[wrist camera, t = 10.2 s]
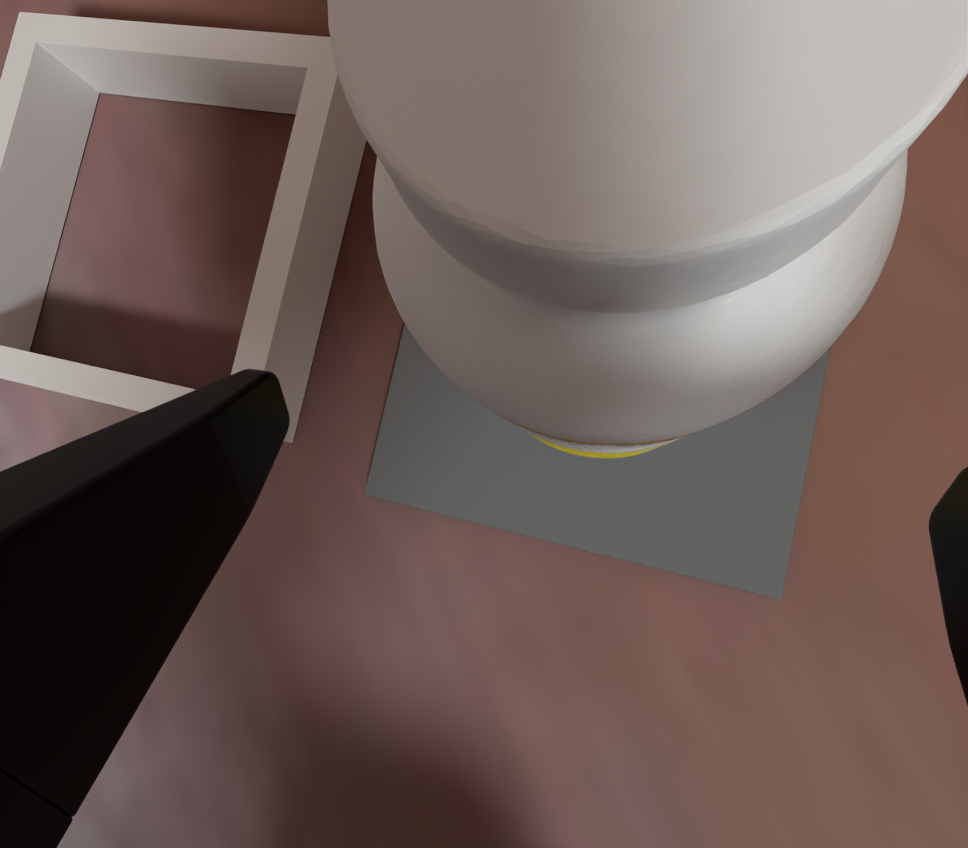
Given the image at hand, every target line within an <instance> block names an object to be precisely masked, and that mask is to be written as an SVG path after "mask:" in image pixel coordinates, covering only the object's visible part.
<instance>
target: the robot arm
mask: <svg viewBox="0 0 968 848" xmlns="http://www.w3.org/2000/svg"><path fill="white" fill-rule="evenodd" d="M289 424H290V416H289V412H288V408H287V405H286V402H285V399H284V395H283V392H282V389H281V385H280V382H279V379H278V377H277V376H276V375H275V374H274V373H272V372H270V371H264V370H256V369H245V370H242V371H239V372H237V373H235V374H232V375H230V376H228V377H225V378H223V379H220V380H218V381H216V382H213V383H211V384H208V385H206V386H204V387H201V388H199V389H197V390H194V391H192V392H189V393H187V394H185V395H182V396H180V397H177V398H175V399H173V400H170V401H168V402H165V403H163V404H161V405H158V406H156V407H154V408H151V409H149V410H146V411H144V412H142V413H139V414H137V415H134V416H132V417H130V418H127V419H125V420H123V421H120V422H118V423H115V424H113V425H111V426H108V427H106V428H103V429H101V430H99V431H96V432H94V433H91V434H89V435H87V436H84V437H82V438H80V439H77V440H75V441H72V442H70V443H68V444H65V445H63V446H60V447H58V448H56V449H53V450H51V451H49V452H46V453H44V454H41V455H39V456H37V457H34V458H32V459H29V460H27V461H25V462H22V463H20V464H17V465H15V466H13V467H10V468H8V469H6V470H3V471H1V472H0V848H57V846H58V844H59V843H60V841H61V839H62V837H63V836H64V834H65V832H66V831H67V829H68V827H69V825H70V824H71V822H72V817H73V816H74V815H75V814H76V813H77V811H78V809H79V807H80V806H81V804H82V802H83V801H84V799H85V797H86V795H87V794H88V792H89V790H90V789H91V787H92V785H93V784H94V782H95V780H96V778H97V777H98V775H99V773H100V772H101V770H102V768H103V766H104V765H105V763H106V761H107V760H108V758H109V756H110V754H111V753H112V751H113V749H114V748H115V746H116V744H117V742H118V741H119V739H120V737H121V736H122V734H123V732H124V730H125V729H126V727H127V725H128V724H129V722H130V720H131V718H132V717H133V715H134V713H135V712H136V710H137V708H138V706H139V705H140V703H141V701H142V700H143V698H144V696H145V694H146V693H147V691H148V689H149V688H150V686H151V684H152V682H153V681H154V679H155V677H156V676H157V674H158V672H159V670H160V669H161V667H162V665H163V664H164V662H165V660H166V658H167V657H168V655H169V653H170V652H171V650H172V648H173V647H174V645H175V643H176V641H177V640H178V638H179V636H180V635H181V633H182V631H183V629H184V628H185V626H186V624H187V623H188V621H189V619H190V617H191V616H192V614H193V612H194V611H195V609H196V607H197V605H198V604H199V602H200V600H201V599H202V597H203V595H204V593H205V592H206V590H207V588H208V587H209V585H210V583H211V581H212V580H213V578H214V576H215V575H216V573H217V571H218V569H219V568H220V566H221V564H222V563H223V561H224V559H225V557H226V556H227V554H228V552H229V551H230V549H231V547H232V545H233V544H234V542H235V540H236V539H237V537H238V535H239V533H240V532H241V530H242V528H243V527H244V525H245V523H246V521H247V519H248V517H249V516H250V514H251V512H252V510H253V508H254V506H255V504H256V501H257V499H258V497H259V495H260V493H261V490H262V488H263V486H264V484H265V481H266V479H267V477H268V475H269V472H270V470H271V468H272V466H273V463H274V461H275V459H276V457H277V455H278V452H279V450H280V448H281V446H282V443H283V441H284V439H285V437H286V434H287V432H288V429H289ZM929 533H930V539H931V545H932V551H933V556H934V562H935V568H936V574H937V579H938V585H939V591H940V596H941V602H942V608H943V614H944V619H945V625H946V630H947V634H948V639H949V644H950V647H951V651H952V655H953V658H954V662H955V666H956V669H957V672H958V675H959V679H960V682H961V685H962V688H963V692H964V695H965V698H966V701H967V705H968V467H967V468H965V469H963V470H962V471H961V472H960V473H959V475H958V476H957V477H956V479H955V480H954V481H953V483H952V484H951V486H950V487H949V488H948V490H947V491H946V492H945V494H944V495H943V497H942V498H941V499H940V501H939V502H938V503H937V505H936V506H935V508H934V509H933V511H932V513H931V516H930V520H929Z"/></svg>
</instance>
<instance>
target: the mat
mask: <svg viewBox="0 0 968 848" xmlns="http://www.w3.org/2000/svg"><path fill="white" fill-rule="evenodd" d="M829 351H830V348H829V349H828V350H827V351H826V352H825V353H824V354H823V355H822V356H821V357H820V358H819V359H818V360H817V361H816V362H815V363H814V364H813V365H812V366H811V367H809V368H808V369H807V370H806V371H805V372H803V373H802V374H801V375H800V376H799V377H797V378H796V379H795V380H794V381H793V382H791V383H790V384H788V385H787V386H786V387H784V388H783V389H781V390H780V391H779V392H777V393H776V394H774V395H773V396H771V397H769V398H768V399H766V400H764V401H763V402H761V403H759V404H757V405H756V406H754V407H752V408H750V409H748V410H746V411H744V412H742V413H740V414H738V415H736V416H734V417H732V418H730V419H728V420H726V421H723V422H721V423H718V424H716V425H714V426H711V427H709V428H706V429H704V430H701V431H698V432H696V433H694V434H690V435H688V436H685V437H682V438H680V439H678V440H676V441H673V442H671V443H668V444H666V445H663V446H661V447H658V448H656V449H653V450H651V451H647V452H644V453H641V454H638V455H634V456H629V457H623V458H588V457H583V456H578V455H573V454H569V453H566V452H563V451H560V450H557V449H555V448H553V447H551V446H549V445H547V444H545V443H543V442H541V441H540V440H538V439H536V438H535V437H533V436H532V435H530V434H528V433H527V432H525V431H524V430H522V429H521V428H519V427H518V426H516V425H515V424H513V423H512V422H510V421H508V420H506V419H504V418H503V417H501V416H500V415H498V414H496V413H495V412H493V411H492V410H490V409H489V408H487V407H486V406H484V405H482V404H481V403H479V402H478V401H477V400H475V399H474V398H472V397H471V396H470V395H468V394H467V393H466V392H465V391H463V390H462V389H461V388H460V387H458V386H457V385H456V384H455V383H454V382H452V381H451V380H450V379H449V378H448V377H447V376H446V375H445V374H444V373H443V372H442V371H441V370H440V369H439V368H438V367H437V366H436V365H435V364H434V363H433V361H432V360H431V359H430V358H429V357H428V356H427V355H426V353H425V352H424V351H423V350H422V349H421V347H420V346H419V344H418V343H417V342H416V340H415V339H414V337H413V336H412V335H411V333H410V331H409V330H408V328H407V326H406V325H405V324H404V328H403V332H402V337H401V341H400V345H399V349H398V354H397V358H396V362H395V366H394V371H393V375H392V379H391V383H390V388H389V392H388V396H387V400H386V405H385V409H384V413H383V417H382V421H381V426H380V430H379V434H378V438H377V443H376V447H375V451H374V455H373V460H372V464H371V468H370V472H369V477H368V481H367V485H366V489H365V494H364V495H367V496H371V497H375V498H379V499H383V500H387V501H391V502H395V503H399V504H403V505H407V506H411V507H415V508H419V509H423V510H427V511H431V512H435V513H439V514H443V515H447V516H451V517H455V518H459V519H463V520H466V521H470V522H474V523H478V524H482V525H486V526H490V527H494V528H498V529H502V530H506V531H510V532H514V533H518V534H522V535H526V536H530V537H534V538H538V539H542V540H546V541H550V542H554V543H558V544H562V545H566V546H570V547H574V548H578V549H582V550H586V551H590V552H594V553H598V554H602V555H606V556H610V557H614V558H618V559H622V560H626V561H630V562H634V563H638V564H641V565H645V566H649V567H653V568H657V569H661V570H665V571H669V572H673V573H677V574H681V575H685V576H689V577H693V578H697V579H701V580H705V581H709V582H713V583H717V584H721V585H725V586H729V587H733V588H737V589H741V590H745V591H749V592H753V593H757V594H761V595H765V596H769V597H773V598H777V599H781V597H782V592H783V587H784V582H785V577H786V572H787V566H788V561H789V556H790V551H791V546H792V541H793V536H794V531H795V525H796V520H797V515H798V510H799V505H800V500H801V495H802V489H803V484H804V479H805V474H806V469H807V464H808V459H809V454H810V448H811V443H812V438H813V433H814V428H815V423H816V418H817V413H818V407H819V402H820V397H821V392H822V387H823V382H824V377H825V372H826V366H827V361H828V356H829Z"/></svg>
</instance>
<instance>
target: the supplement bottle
mask: <svg viewBox="0 0 968 848" xmlns="http://www.w3.org/2000/svg"><path fill="white" fill-rule="evenodd" d="M327 2H328V27H329V33H330V38H331V45H332V52H333V60H334V63H335V67H336V70H337V74H338V77H339V81H340V84H341V86H342V89H343V92H344V94H345V97H346V100H347V102H348V104H349V107H350V109H351V111H352V113H353V116H354V118H355V120H356V122H357V124H358V126H359V128H360V130H361V132H362V134H363V135H364V137H365V138H366V140H367V141H368V143H369V144H370V146H371V147H372V149H373V151H374V152H375V154H376V155H377V161H376V168H375V175H374V182H373V219H374V230H375V238H376V246H377V254H378V257H379V261H380V264H381V268H382V271H383V275H384V278H385V281H386V284H387V287H388V290H389V292H390V294H391V297H392V299H393V301H394V303H395V306H396V308H397V310H398V312H399V314H400V316H401V318H402V319H403V321H404V323H405V325H406V326H407V328H408V330H409V331H410V333H411V335H412V336H413V337H414V339H415V340H416V342H417V343H418V344H419V346H420V347H421V349H422V350H423V351H424V352H425V353H426V355H427V356H428V357H429V358H430V359H431V360H432V361H433V363H434V364H435V365H436V366H437V367H438V368H439V369H440V370H441V371H442V372H443V373H444V374H445V375H446V376H447V377H448V378H449V379H450V380H451V381H452V382H454V383H455V384H456V385H457V386H458V387H460V388H461V389H462V390H463V391H465V392H466V393H467V394H468V395H470V396H471V397H472V398H474V399H475V400H477V401H478V402H479V403H481V404H482V405H484V406H486V407H487V408H489V409H490V410H492V411H493V412H495V413H496V414H498V415H500V416H501V417H503V418H504V419H506V420H508V421H510V422H512V423H513V424H515V425H516V426H518V427H519V428H521V429H522V430H524V431H525V432H527V433H528V434H530V435H532V436H533V437H535V438H536V439H538V440H540V441H541V442H543V443H545V444H547V445H549V446H551V447H553V448H555V449H557V450H560V451H563V452H566V453H569V454H573V455H578V456H583V457H588V458H623V457H629V456H634V455H638V454H641V453H644V452H647V451H651V450H653V449H656V448H658V447H661V446H663V445H666V444H668V443H671V442H673V441H676V440H678V439H680V438H682V437H685V436H688V435H690V434H694V433H696V432H698V431H701V430H704V429H706V428H709V427H711V426H714V425H716V424H718V423H721V422H723V421H726V420H728V419H730V418H732V417H734V416H736V415H738V414H740V413H742V412H744V411H746V410H748V409H750V408H752V407H754V406H756V405H757V404H759V403H761V402H763V401H764V400H766V399H768V398H769V397H771V396H773V395H774V394H776V393H777V392H779V391H780V390H781V389H783V388H784V387H786V386H787V385H788V384H790V383H791V382H793V381H794V380H795V379H796V378H797V377H799V376H800V375H801V374H802V373H803V372H805V371H806V370H807V369H808V368H809V367H811V366H812V365H813V364H814V363H815V362H816V361H817V360H818V359H819V358H820V357H821V356H822V355H823V354H824V353H825V352H826V351H827V350H828V349H829V348H830V346H831V345H832V344H833V343H834V342H835V341H836V340H837V338H838V337H839V336H840V335H841V334H842V332H843V331H844V330H845V329H846V327H847V326H848V325H849V324H850V322H851V321H852V320H853V319H854V317H855V316H856V315H857V314H858V312H859V311H860V309H861V308H862V306H863V305H864V303H865V301H866V300H867V298H868V296H869V294H870V293H871V291H872V289H873V287H874V285H875V284H876V282H877V280H878V278H879V276H880V274H881V271H882V269H883V267H884V264H885V262H886V260H887V257H888V255H889V252H890V250H891V247H892V244H893V241H894V237H895V234H896V231H897V227H898V224H899V220H900V216H901V211H902V206H903V201H904V193H905V184H906V172H907V149H908V148H909V147H910V145H911V144H912V143H913V142H914V141H915V140H916V139H917V137H918V136H919V135H920V134H921V133H922V132H923V131H924V129H925V128H926V127H927V126H928V125H929V124H930V123H931V121H932V120H933V119H934V118H935V117H936V116H937V115H938V113H939V112H940V111H941V110H942V109H943V108H944V107H945V105H946V104H947V102H948V101H949V100H950V98H951V97H952V95H953V94H954V92H955V91H956V89H957V88H958V87H959V85H960V84H961V82H962V81H963V79H964V78H965V76H966V75H967V74H968V0H327Z"/></svg>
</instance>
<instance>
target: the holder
mask: <svg viewBox="0 0 968 848" xmlns="http://www.w3.org/2000/svg"><path fill="white" fill-rule="evenodd" d="M99 93H107V94H116V95H125V96H134V97H143V98H152V99H161V100H170V101H179V102H188V103H197V104H206V105H215V106H224V107H233V108H242V109H250V110H259V111H268V112H277V113H286V114H295V115H296V117H295V121H294V125H293V129H292V132H291V136H290V140H289V144H288V148H287V152H286V156H285V160H284V164H283V168H282V172H281V176H280V180H279V184H278V188H277V192H276V196H275V200H274V204H273V208H272V212H271V216H270V220H269V224H268V228H267V232H266V236H265V240H264V244H263V248H262V252H261V256H260V260H259V264H258V268H257V272H256V276H255V280H254V284H253V288H252V292H251V296H250V300H249V304H248V308H247V312H246V316H245V320H244V324H243V328H242V332H241V336H240V340H239V344H238V348H237V352H236V356H235V360H234V364H233V368H232V372H231V375H232V374H235V373H237V372H239V371H242V370H245V369H256V370H264V371H270V372H272V373H274V374H275V375H276V376H277V377H278V379H279V382H280V385H281V389H282V392H283V395H284V399H285V402H286V405H287V408H288V412H289V416H290V424H289V429H288V432H287V434H286V437H285V439H284V441H283V442H289V443H293V439H294V435H295V431H296V427H297V423H298V419H299V415H300V411H301V407H302V403H303V398H304V394H305V390H306V386H307V382H308V378H309V374H310V370H311V366H312V361H313V357H314V353H315V349H316V345H317V341H318V337H319V333H320V329H321V325H322V320H323V316H324V312H325V308H326V304H327V300H328V296H329V292H330V288H331V283H332V279H333V275H334V271H335V267H336V263H337V259H338V255H339V251H340V247H341V242H342V238H343V234H344V230H345V226H346V222H347V218H348V214H349V210H350V205H351V201H352V197H353V193H354V189H355V185H356V181H357V177H358V173H359V169H360V164H361V160H362V156H363V152H364V148H365V144H366V138H365V137H364V135H363V134H362V132H361V130H360V128H359V126H358V124H357V122H356V120H355V118H354V116H353V113H352V111H351V109H350V107H349V104H348V102H347V100H346V97H345V94H344V92H343V89H342V86H341V84H340V81H339V77H338V74H337V70H336V67H335V63H334V60H333V52H332V45H331V38H330V37H323V36H311V35H298V34H286V33H274V32H261V31H249V30H236V29H224V28H212V27H199V26H187V25H175V24H162V23H150V22H137V21H125V20H113V19H100V18H88V17H75V16H63V15H51V14H38V13H26V12H19V16H18V19H17V23H16V26H15V30H14V33H13V37H12V40H11V44H10V48H9V51H8V55H7V58H6V62H5V65H4V69H3V73H2V76H1V80H0V378H2V379H6V380H10V381H14V382H18V383H23V384H27V385H31V386H35V387H39V388H43V389H48V390H52V391H56V392H60V393H64V394H68V395H72V396H77V397H81V398H85V399H89V400H93V401H97V402H102V403H106V404H110V405H114V406H118V407H122V408H127V409H131V410H135V411H139V412H144V411H146V410H149V409H151V408H154V407H156V406H158V405H161V404H163V403H165V402H168V401H170V400H173V399H175V398H177V397H180V396H182V395H185V394H187V393H189V392H192V391H194V390H196V389H192V388H187V387H183V386H178V385H174V384H169V383H165V382H161V381H156V380H152V379H147V378H143V377H139V376H134V375H130V374H125V373H121V372H116V371H112V370H108V369H103V368H99V367H94V366H90V365H85V364H81V363H77V362H72V361H68V360H63V359H59V358H55V357H50V356H46V355H41V354H37V353H32V352H30V348H31V344H32V341H33V337H34V333H35V330H36V326H37V322H38V318H39V315H40V311H41V307H42V304H43V300H44V296H45V293H46V289H47V285H48V281H49V278H50V274H51V270H52V267H53V263H54V259H55V256H56V252H57V248H58V245H59V241H60V237H61V233H62V230H63V226H64V222H65V219H66V215H67V211H68V208H69V204H70V200H71V196H72V193H73V189H74V185H75V182H76V178H77V174H78V171H79V167H80V163H81V160H82V156H83V152H84V148H85V145H86V141H87V137H88V134H89V130H90V126H91V123H92V119H93V115H94V111H95V108H96V104H97V100H98V97H99Z"/></svg>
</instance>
